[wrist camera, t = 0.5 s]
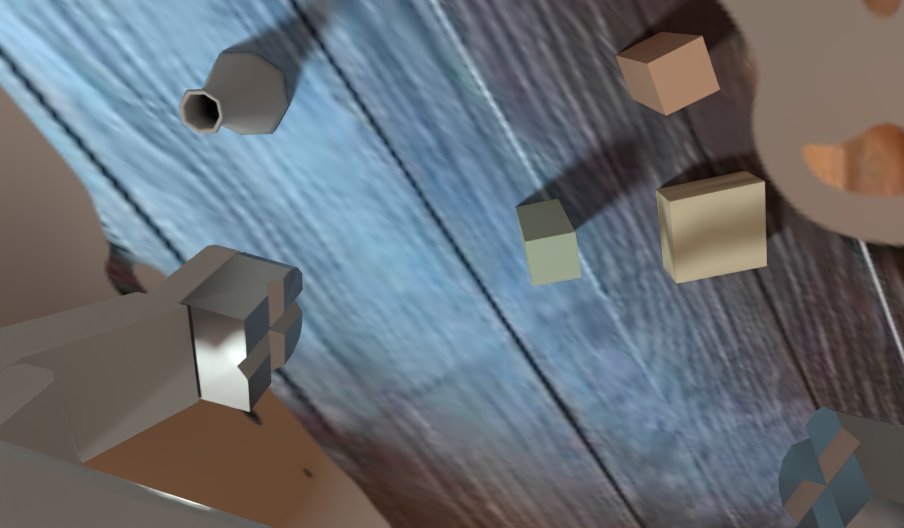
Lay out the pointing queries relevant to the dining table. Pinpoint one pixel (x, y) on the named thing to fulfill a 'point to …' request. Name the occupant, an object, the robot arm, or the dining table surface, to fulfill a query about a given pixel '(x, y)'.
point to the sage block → (548, 242)
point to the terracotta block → (668, 71)
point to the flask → (237, 97)
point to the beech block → (713, 226)
